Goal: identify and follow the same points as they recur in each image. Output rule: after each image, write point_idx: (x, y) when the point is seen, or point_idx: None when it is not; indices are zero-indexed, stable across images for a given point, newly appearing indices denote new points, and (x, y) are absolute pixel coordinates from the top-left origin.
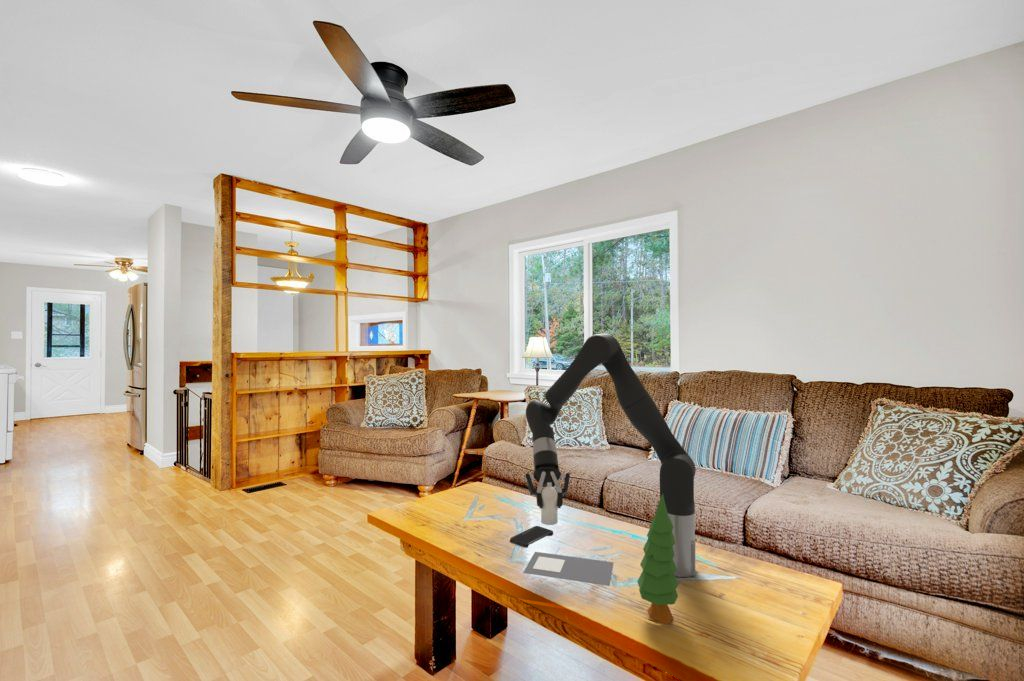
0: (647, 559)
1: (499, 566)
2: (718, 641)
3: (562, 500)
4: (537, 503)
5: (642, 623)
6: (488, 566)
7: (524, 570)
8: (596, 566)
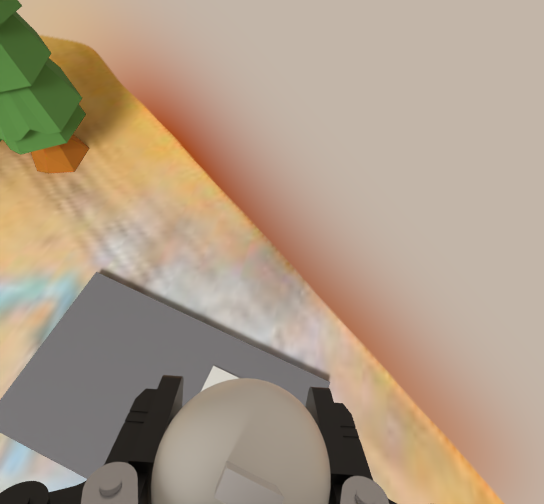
0: (20, 22)
1: (403, 455)
2: None
3: (130, 414)
4: (348, 417)
5: (107, 142)
6: (440, 459)
7: None
8: (69, 396)
